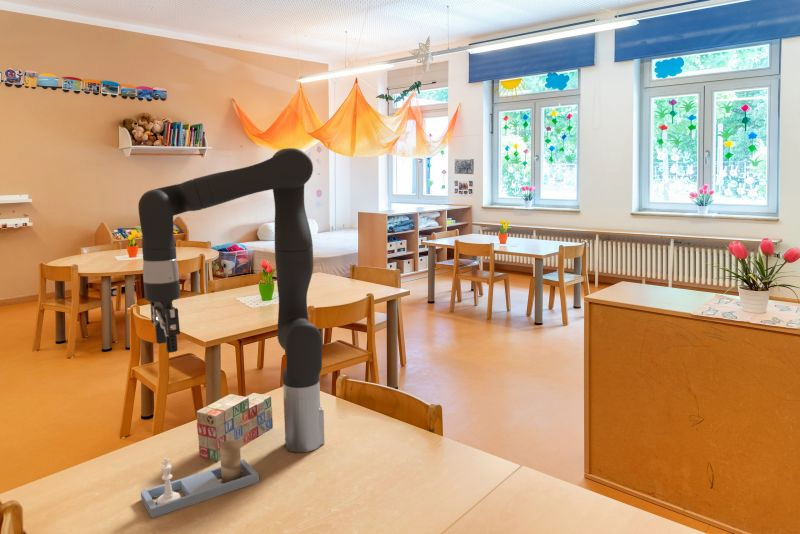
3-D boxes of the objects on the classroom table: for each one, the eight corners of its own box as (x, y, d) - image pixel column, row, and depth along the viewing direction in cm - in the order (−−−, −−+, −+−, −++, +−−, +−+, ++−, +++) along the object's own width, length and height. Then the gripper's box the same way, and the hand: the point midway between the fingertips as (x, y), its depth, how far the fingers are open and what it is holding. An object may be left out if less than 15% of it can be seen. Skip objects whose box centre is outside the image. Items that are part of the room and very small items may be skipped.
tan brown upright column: (237, 473, 142) (235, 438, 140) (244, 481, 138) (242, 445, 137) (219, 479, 139) (216, 443, 138) (226, 487, 136) (223, 450, 134)
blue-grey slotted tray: (244, 466, 145) (244, 459, 145) (258, 481, 138) (258, 473, 138) (141, 499, 131) (140, 491, 131) (151, 518, 124) (151, 509, 124)
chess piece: (151, 504, 129) (148, 461, 128) (168, 492, 134) (165, 451, 132) (169, 509, 127) (166, 465, 126) (186, 497, 132) (183, 455, 130)
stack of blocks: (255, 423, 169) (253, 381, 167) (273, 427, 166) (271, 385, 164) (199, 457, 150) (195, 410, 148) (218, 462, 147) (215, 415, 145)
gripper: (188, 281, 133) (192, 351, 136) (169, 272, 144) (174, 337, 147) (152, 285, 129) (158, 358, 132) (136, 275, 140) (141, 342, 143)
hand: (166, 347), depth 139 cm, fingers open, 8 cm apart
